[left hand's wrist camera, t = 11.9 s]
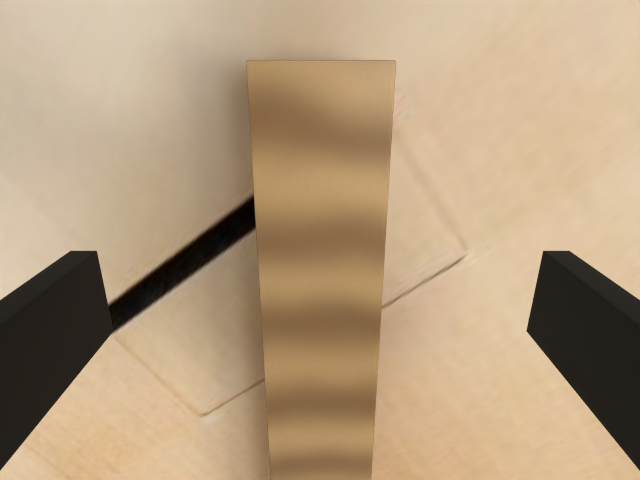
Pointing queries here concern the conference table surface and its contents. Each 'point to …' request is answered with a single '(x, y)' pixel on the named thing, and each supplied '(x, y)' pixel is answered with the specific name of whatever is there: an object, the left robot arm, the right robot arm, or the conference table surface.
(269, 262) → the wide beam
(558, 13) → the conference table surface
